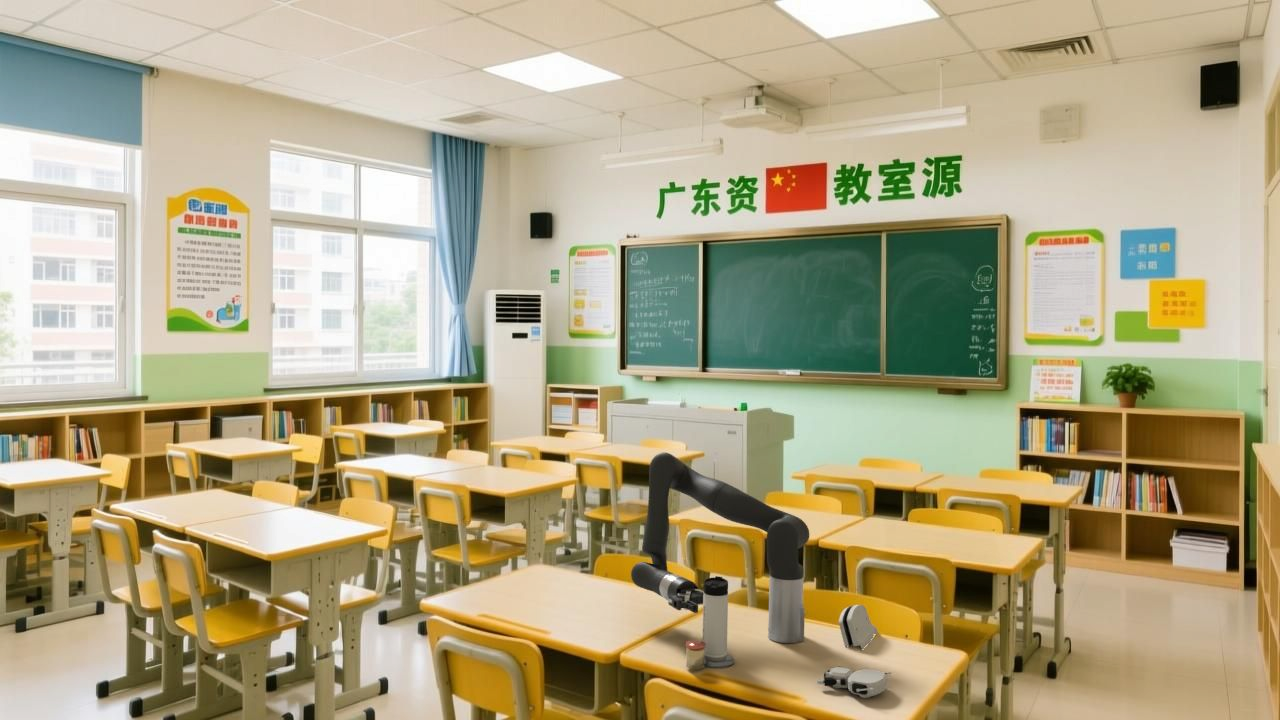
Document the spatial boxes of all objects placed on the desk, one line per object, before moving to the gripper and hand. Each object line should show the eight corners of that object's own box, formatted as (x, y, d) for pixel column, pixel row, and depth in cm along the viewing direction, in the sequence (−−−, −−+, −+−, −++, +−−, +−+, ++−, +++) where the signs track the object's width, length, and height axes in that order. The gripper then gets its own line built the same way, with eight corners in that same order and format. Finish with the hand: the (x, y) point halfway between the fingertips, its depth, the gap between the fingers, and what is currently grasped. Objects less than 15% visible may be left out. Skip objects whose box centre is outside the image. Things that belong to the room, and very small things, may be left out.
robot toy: (814, 694, 205) (876, 706, 196) (813, 675, 205) (875, 686, 196) (834, 678, 215) (894, 689, 206) (834, 659, 215) (893, 669, 206)
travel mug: (729, 654, 225) (731, 577, 224) (723, 663, 218) (725, 584, 218) (706, 651, 227) (707, 574, 226) (699, 660, 220) (700, 581, 220)
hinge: (863, 650, 232) (851, 613, 233) (846, 653, 234) (835, 616, 235) (878, 632, 246) (867, 597, 248) (862, 635, 249) (851, 601, 250)
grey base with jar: (710, 651, 229) (711, 626, 229) (742, 660, 223) (742, 635, 223) (673, 666, 218) (673, 641, 218) (705, 677, 211) (705, 651, 211)
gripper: (656, 579, 235) (687, 595, 220) (700, 573, 241) (734, 589, 227) (655, 607, 235) (687, 625, 221) (700, 600, 242) (733, 617, 227)
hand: (711, 606), depth 224 cm, fingers open, 8 cm apart
